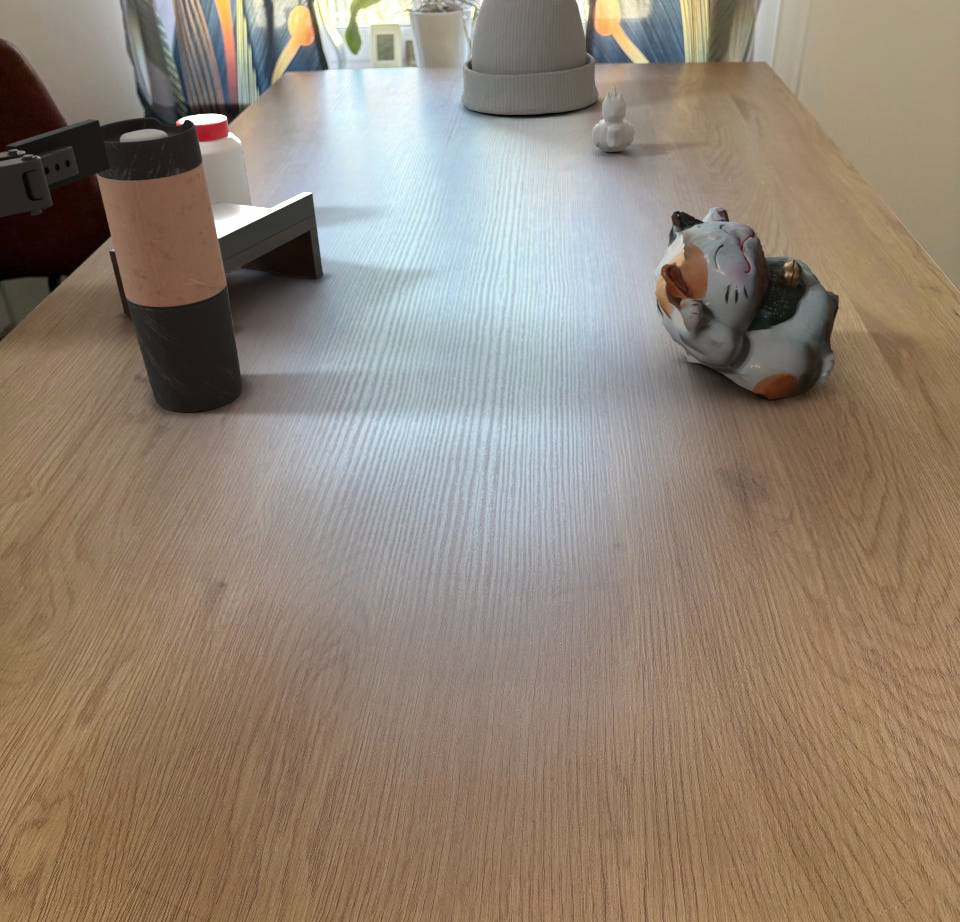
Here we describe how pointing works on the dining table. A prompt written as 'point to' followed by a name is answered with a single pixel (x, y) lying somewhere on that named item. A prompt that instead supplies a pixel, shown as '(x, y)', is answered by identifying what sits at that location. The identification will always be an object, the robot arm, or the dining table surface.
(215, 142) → the pill bottle
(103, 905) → the dining table surface
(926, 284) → the dining table surface
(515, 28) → the beanie hat
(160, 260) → the travel mug
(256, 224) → the shelf
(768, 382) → the lucky cat figurine
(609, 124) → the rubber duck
